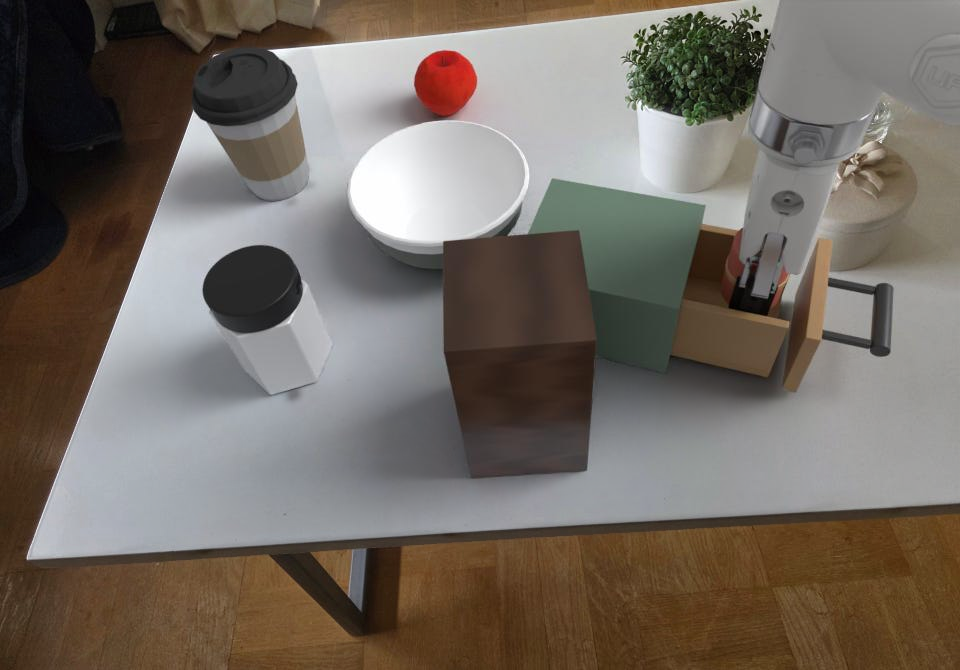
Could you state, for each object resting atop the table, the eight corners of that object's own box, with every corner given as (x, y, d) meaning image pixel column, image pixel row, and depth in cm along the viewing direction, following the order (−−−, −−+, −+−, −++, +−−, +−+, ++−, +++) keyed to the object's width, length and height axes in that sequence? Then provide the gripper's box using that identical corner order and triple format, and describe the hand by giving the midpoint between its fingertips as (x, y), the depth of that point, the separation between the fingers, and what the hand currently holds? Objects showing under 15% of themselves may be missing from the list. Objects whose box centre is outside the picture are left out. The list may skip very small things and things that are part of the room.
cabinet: (690, 274, 74) (706, 204, 67) (665, 373, 67) (679, 308, 60) (552, 246, 78) (552, 177, 70) (515, 337, 71) (510, 272, 64)
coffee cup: (252, 148, 92) (206, 39, 80) (337, 151, 91) (304, 41, 79) (219, 211, 86) (164, 103, 74) (311, 216, 84) (270, 106, 72)
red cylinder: (783, 276, 65) (802, 228, 60) (776, 320, 62) (795, 274, 57) (724, 264, 66) (737, 216, 62) (714, 307, 64) (727, 260, 59)
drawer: (873, 309, 69) (904, 252, 62) (866, 409, 63) (900, 357, 56) (667, 268, 74) (677, 211, 68) (642, 356, 68) (651, 304, 61)
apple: (472, 130, 91) (466, 78, 85) (411, 126, 92) (401, 75, 87) (485, 91, 96) (480, 39, 90) (426, 88, 97) (418, 37, 91)
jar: (349, 355, 72) (317, 275, 62) (284, 410, 69) (240, 334, 59) (294, 310, 76) (256, 228, 66) (230, 359, 73) (180, 280, 63)
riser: (574, 373, 68) (579, 229, 53) (587, 470, 62) (597, 339, 47) (468, 381, 69) (442, 240, 54) (470, 478, 63) (443, 351, 48)
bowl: (531, 297, 74) (529, 241, 68) (351, 301, 76) (332, 246, 69) (531, 174, 85) (529, 115, 79) (374, 179, 87) (359, 122, 80)
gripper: (862, 209, 44) (785, 375, 58) (876, 49, 53) (806, 227, 67) (733, 187, 46) (690, 353, 60) (768, 36, 55) (723, 212, 69)
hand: (752, 285), depth 64 cm, fingers closed on red cylinder, 5 cm apart
